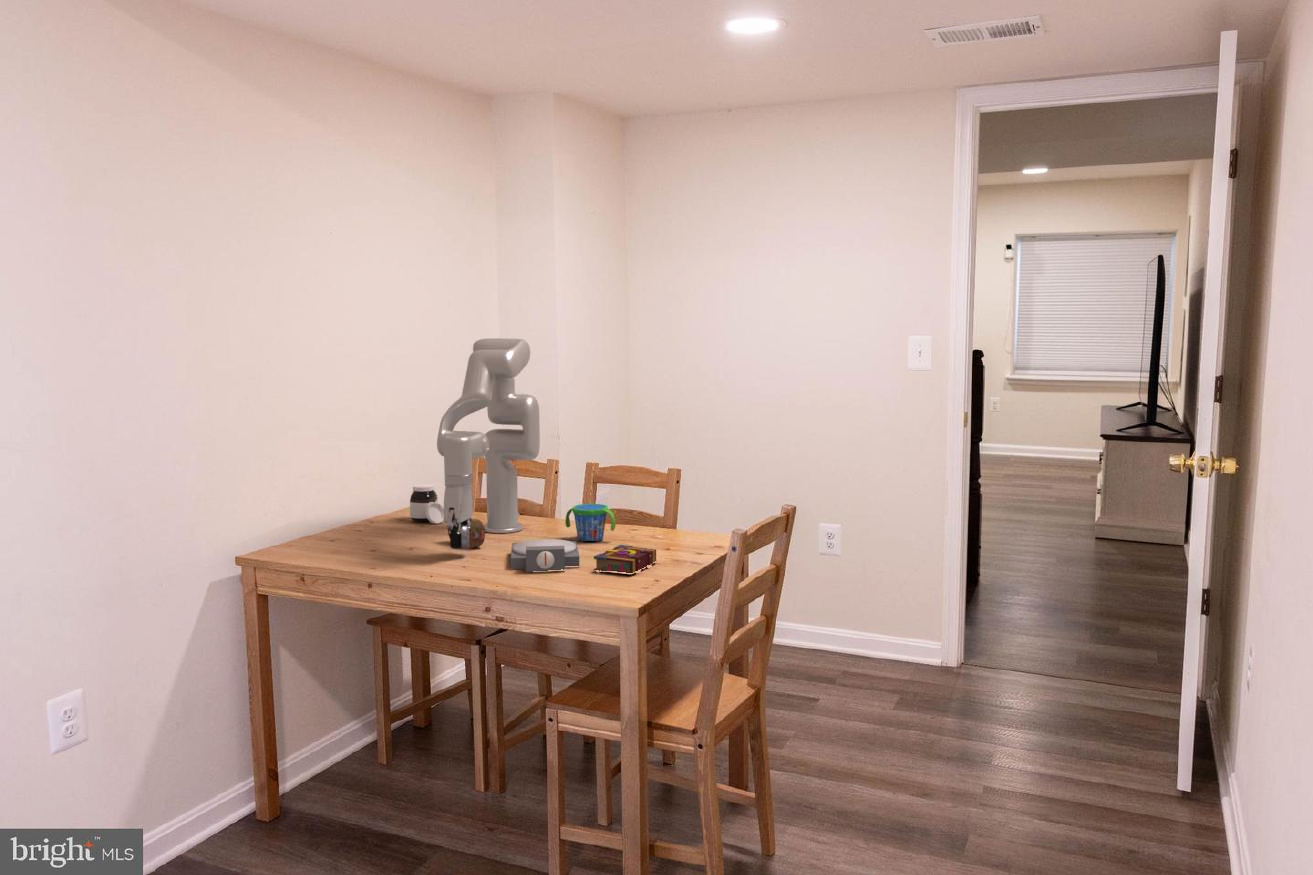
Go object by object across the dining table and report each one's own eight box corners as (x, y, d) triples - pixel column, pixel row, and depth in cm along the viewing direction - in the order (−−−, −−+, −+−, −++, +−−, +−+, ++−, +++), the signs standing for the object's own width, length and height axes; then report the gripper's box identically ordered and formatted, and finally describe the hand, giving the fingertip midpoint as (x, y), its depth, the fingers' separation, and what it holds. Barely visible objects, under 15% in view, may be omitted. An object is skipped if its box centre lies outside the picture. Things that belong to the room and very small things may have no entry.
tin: (447, 542, 291) (446, 514, 290) (456, 540, 294) (455, 512, 293) (478, 550, 281) (477, 521, 280) (487, 548, 283) (486, 519, 282)
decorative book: (657, 565, 266) (657, 546, 265) (630, 579, 251) (630, 559, 251) (620, 560, 271) (620, 542, 270) (591, 573, 256) (591, 555, 256)
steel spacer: (455, 544, 276) (455, 523, 275) (472, 545, 275) (472, 524, 274) (448, 548, 271) (447, 527, 270) (465, 549, 270) (464, 528, 269)
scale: (512, 553, 277) (511, 532, 277) (576, 551, 280) (576, 530, 279) (510, 573, 255) (510, 550, 255) (580, 571, 258) (580, 549, 257)
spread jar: (418, 517, 328) (418, 482, 326) (451, 518, 326) (450, 483, 325) (404, 524, 316) (403, 488, 315) (438, 525, 314) (437, 489, 313)
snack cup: (558, 540, 294) (558, 507, 292) (577, 534, 303) (577, 501, 302) (604, 546, 286) (603, 511, 285) (621, 539, 296) (621, 505, 295)
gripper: (458, 474, 280) (460, 537, 282) (432, 485, 263) (434, 551, 266) (483, 475, 278) (485, 538, 280) (458, 486, 261) (460, 553, 264)
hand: (460, 544), depth 273 cm, fingers closed on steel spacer, 5 cm apart
